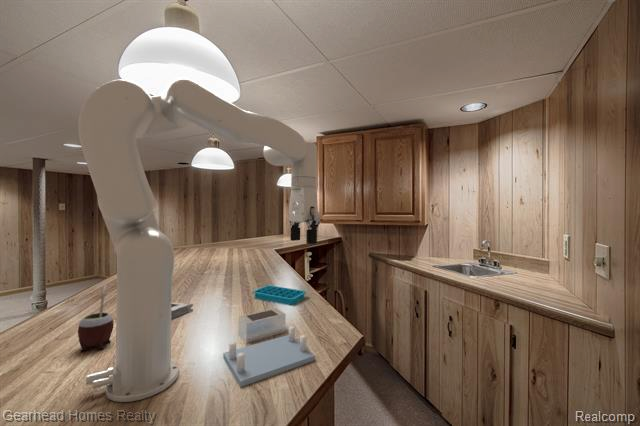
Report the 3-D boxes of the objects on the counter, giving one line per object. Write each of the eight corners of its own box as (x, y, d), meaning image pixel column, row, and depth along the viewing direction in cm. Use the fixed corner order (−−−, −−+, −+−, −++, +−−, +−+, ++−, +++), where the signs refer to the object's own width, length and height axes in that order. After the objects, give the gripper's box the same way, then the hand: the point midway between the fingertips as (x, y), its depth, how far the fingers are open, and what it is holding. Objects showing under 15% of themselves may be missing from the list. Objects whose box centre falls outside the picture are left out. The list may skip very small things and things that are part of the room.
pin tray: (240, 387, 54) (240, 364, 54) (223, 357, 65) (223, 338, 65) (314, 360, 64) (315, 340, 64) (289, 338, 75) (289, 322, 75)
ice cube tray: (268, 291, 120) (268, 285, 120) (307, 298, 112) (307, 291, 112) (250, 299, 110) (250, 291, 110) (292, 307, 101) (292, 299, 101)
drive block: (246, 343, 72) (246, 323, 72) (238, 335, 77) (238, 316, 77) (285, 332, 80) (285, 313, 80) (275, 325, 84) (276, 307, 84)
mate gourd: (85, 357, 65) (85, 294, 64) (71, 348, 68) (72, 289, 68) (120, 344, 71) (121, 287, 71) (106, 337, 75) (106, 283, 75)
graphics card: (169, 312, 86) (119, 301, 95) (169, 323, 86) (119, 311, 95) (195, 303, 95) (147, 294, 105) (195, 312, 95) (147, 302, 105)
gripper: (280, 185, 85) (279, 239, 85) (307, 181, 71) (306, 245, 71) (300, 187, 89) (299, 238, 89) (331, 183, 75) (330, 244, 75)
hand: (303, 241), depth 80 cm, fingers open, 9 cm apart
